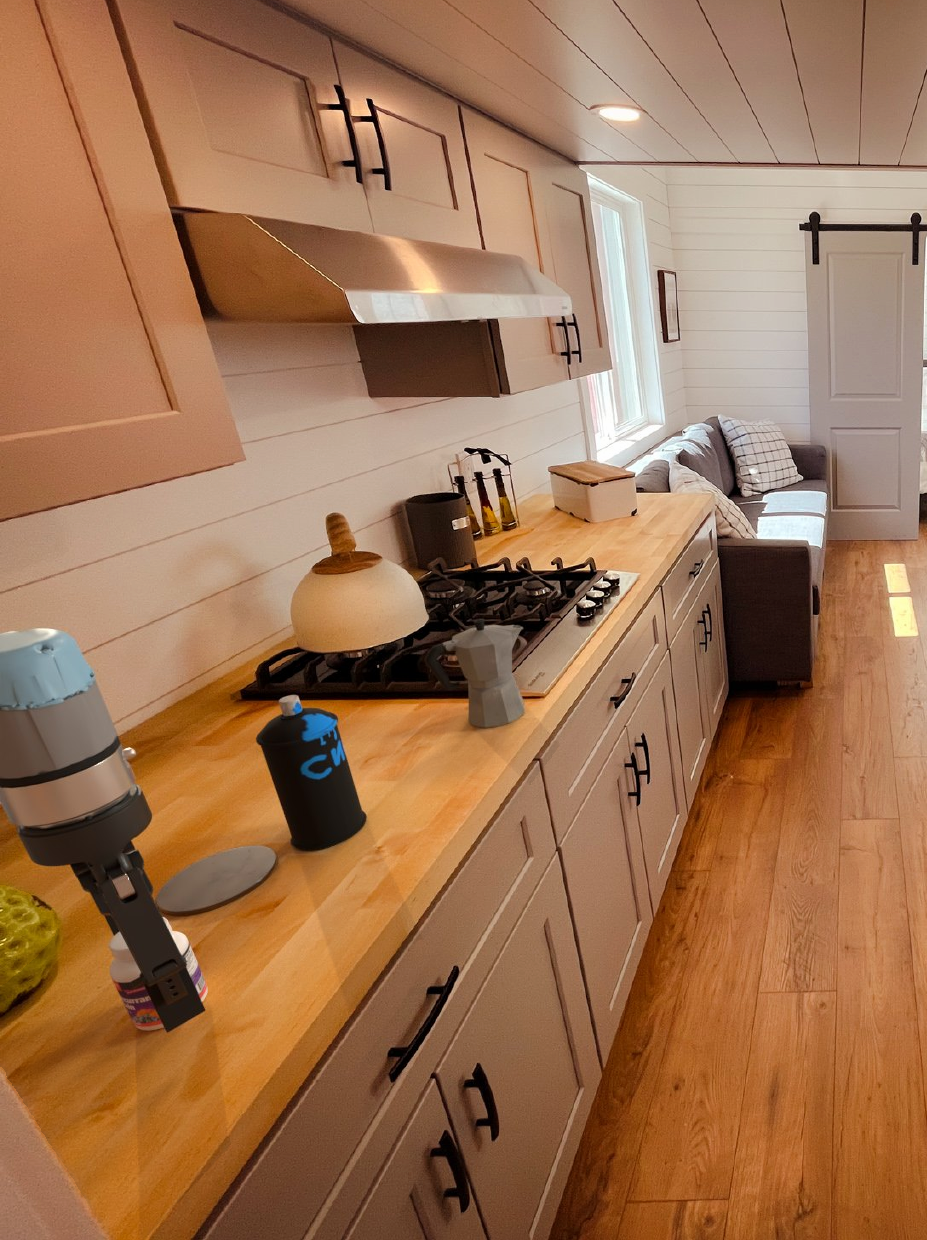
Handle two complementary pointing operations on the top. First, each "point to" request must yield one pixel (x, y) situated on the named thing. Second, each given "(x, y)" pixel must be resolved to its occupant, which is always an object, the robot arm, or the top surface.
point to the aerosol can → (311, 775)
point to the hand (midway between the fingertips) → (163, 983)
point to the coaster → (216, 880)
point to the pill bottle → (138, 997)
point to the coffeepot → (484, 672)
